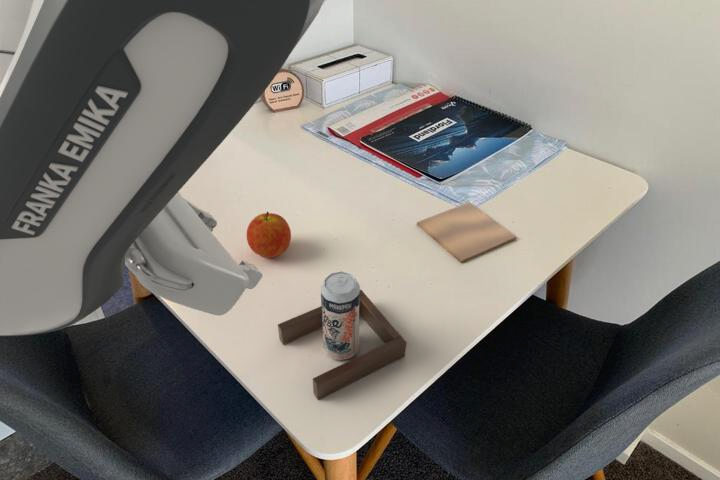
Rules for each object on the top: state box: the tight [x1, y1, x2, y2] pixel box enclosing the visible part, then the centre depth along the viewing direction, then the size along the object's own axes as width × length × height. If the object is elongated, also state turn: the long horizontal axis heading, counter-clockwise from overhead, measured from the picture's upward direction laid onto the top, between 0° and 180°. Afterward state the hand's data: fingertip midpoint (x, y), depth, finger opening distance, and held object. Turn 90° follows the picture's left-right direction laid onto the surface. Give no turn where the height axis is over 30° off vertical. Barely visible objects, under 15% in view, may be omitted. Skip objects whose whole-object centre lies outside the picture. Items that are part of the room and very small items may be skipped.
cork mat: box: [416, 202, 517, 264], centre depth 90 cm, size 12×12×1 cm
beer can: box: [319, 271, 361, 361], centre depth 66 cm, size 5×5×12 cm
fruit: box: [246, 211, 292, 259], centre depth 83 cm, size 7×7×8 cm
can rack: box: [277, 289, 407, 401], centre depth 69 cm, size 11×13×3 cm
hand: (231, 250), depth 50 cm, fingers open, 8 cm apart
